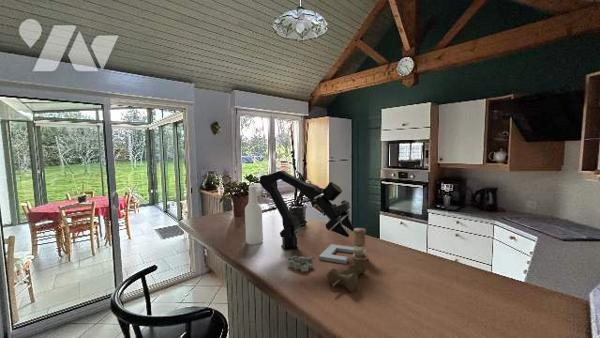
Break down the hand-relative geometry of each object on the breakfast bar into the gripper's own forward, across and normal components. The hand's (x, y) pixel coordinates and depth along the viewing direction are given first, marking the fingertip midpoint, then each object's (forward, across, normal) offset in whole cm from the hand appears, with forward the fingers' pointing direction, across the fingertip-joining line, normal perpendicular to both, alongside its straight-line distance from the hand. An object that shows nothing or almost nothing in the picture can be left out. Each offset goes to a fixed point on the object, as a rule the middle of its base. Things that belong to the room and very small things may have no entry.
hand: (351, 233), depth 119 cm
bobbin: (+10, 0, +5) cm, 11 cm away
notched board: (+3, 0, +12) cm, 12 cm away
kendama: (+11, -23, +5) cm, 26 cm away
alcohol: (-30, 0, +44) cm, 53 cm away
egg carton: (-4, -18, +20) cm, 27 cm away
